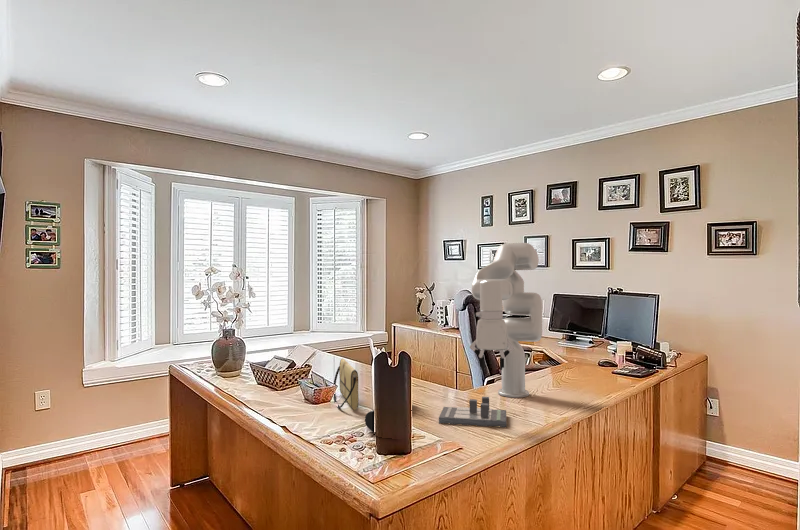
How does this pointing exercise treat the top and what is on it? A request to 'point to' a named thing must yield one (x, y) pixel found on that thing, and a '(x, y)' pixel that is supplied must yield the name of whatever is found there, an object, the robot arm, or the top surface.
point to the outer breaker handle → (484, 410)
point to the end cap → (370, 420)
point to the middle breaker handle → (473, 405)
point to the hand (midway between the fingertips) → (492, 368)
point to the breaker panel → (472, 417)
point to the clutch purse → (348, 384)
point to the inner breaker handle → (485, 400)
